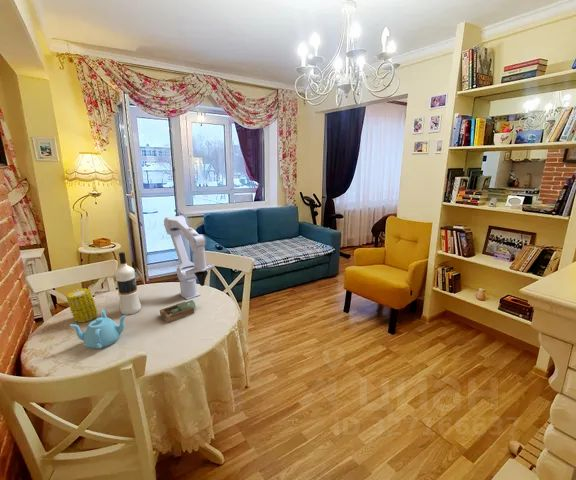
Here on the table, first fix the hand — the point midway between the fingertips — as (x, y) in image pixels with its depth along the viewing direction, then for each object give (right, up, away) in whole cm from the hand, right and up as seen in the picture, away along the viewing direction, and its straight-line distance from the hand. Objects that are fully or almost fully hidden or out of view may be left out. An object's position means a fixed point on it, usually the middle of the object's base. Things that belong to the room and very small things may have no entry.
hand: (202, 285), depth 150 cm
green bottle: (-3, -9, -3) cm, 10 cm away
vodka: (-34, -12, -3) cm, 36 cm away
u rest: (-9, -13, -7) cm, 17 cm away
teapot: (-33, -19, -27) cm, 46 cm away
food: (-52, -14, -10) cm, 55 cm away
